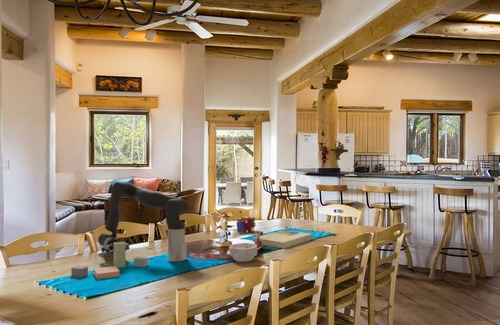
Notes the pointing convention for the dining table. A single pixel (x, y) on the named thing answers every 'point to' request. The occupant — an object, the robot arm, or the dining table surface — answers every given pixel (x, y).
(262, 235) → the toy fire truck
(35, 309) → the dining table surface
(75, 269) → the grey rectangular block
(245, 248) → the paper bowls
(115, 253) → the sage tower brick
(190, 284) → the dining table surface
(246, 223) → the robot toy
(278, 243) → the puzzle box
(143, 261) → the light gray block
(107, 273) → the terracotta base brick
